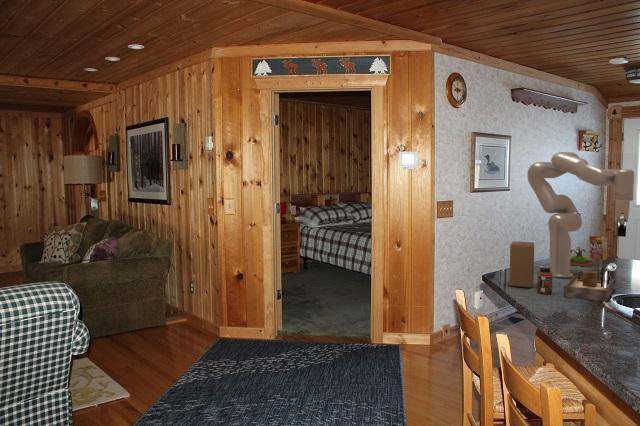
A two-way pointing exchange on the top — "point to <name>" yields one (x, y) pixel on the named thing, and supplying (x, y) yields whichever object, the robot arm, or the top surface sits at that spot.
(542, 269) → the supplement bottle
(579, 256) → the plant
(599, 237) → the candy box
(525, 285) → the wooden block
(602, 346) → the top surface
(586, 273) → the walnut block
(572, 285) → the box
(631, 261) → the top surface
